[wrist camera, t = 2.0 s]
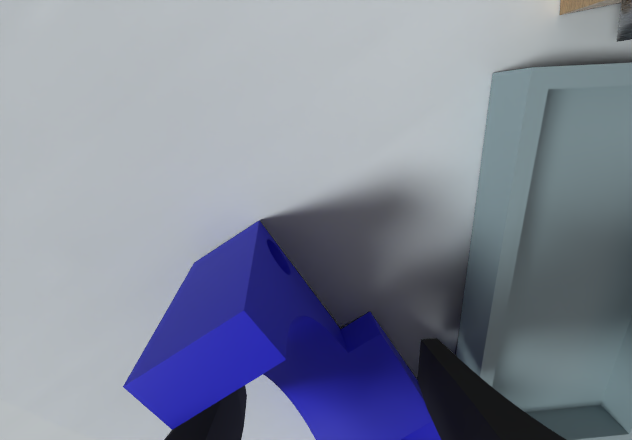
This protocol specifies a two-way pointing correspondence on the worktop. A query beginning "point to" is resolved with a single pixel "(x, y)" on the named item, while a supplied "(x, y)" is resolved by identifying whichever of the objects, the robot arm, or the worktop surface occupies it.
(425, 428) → the blue bearing cap
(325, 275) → the worktop surface
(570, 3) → the shaft
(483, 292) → the grey-blue rectangular tray
